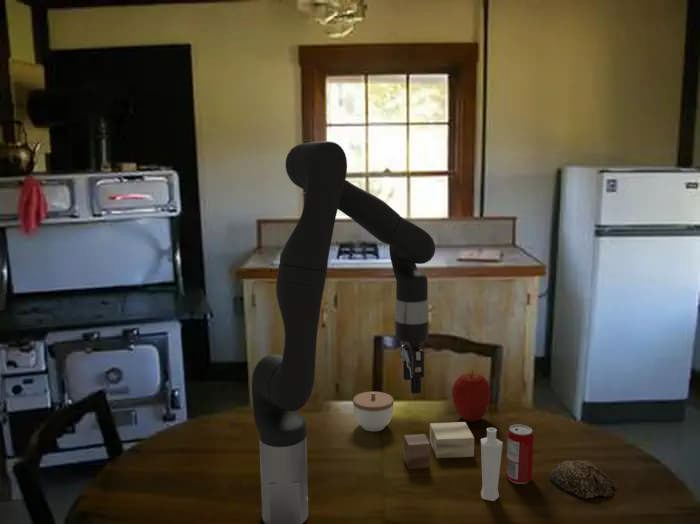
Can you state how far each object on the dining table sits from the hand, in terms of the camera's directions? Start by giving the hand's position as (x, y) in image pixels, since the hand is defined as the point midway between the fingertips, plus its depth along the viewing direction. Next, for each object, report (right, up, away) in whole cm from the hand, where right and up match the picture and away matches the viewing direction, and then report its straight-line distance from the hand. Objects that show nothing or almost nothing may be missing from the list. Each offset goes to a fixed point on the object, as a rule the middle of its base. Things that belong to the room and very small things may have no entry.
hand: (411, 385), depth 147 cm
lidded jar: (-8, -15, +22) cm, 28 cm away
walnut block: (+1, -19, +2) cm, 19 cm away
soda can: (+23, -20, -5) cm, 31 cm away
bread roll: (+37, -20, -8) cm, 43 cm away
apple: (+19, -14, +26) cm, 35 cm away
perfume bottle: (+15, -21, -12) cm, 29 cm away
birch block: (+11, -17, +9) cm, 22 cm away
